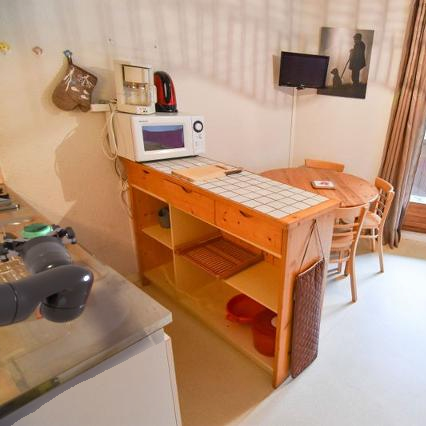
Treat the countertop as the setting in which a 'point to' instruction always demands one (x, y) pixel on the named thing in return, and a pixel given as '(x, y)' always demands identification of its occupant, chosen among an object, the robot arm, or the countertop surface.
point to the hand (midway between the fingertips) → (31, 232)
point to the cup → (35, 230)
